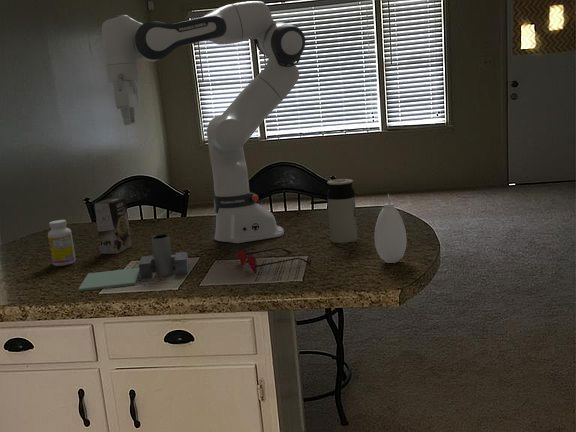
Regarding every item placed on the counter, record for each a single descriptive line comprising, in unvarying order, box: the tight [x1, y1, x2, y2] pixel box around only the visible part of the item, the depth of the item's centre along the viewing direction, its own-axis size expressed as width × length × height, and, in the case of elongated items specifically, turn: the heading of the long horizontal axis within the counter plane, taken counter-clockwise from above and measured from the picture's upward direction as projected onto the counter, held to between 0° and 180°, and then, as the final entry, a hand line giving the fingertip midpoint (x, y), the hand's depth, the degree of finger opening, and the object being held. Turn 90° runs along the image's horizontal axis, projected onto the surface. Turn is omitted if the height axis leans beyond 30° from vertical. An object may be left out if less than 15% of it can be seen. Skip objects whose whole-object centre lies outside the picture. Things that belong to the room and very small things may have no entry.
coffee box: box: [94, 197, 132, 255], centre depth 193 cm, size 9×6×16 cm
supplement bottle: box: [47, 219, 77, 267], centre depth 182 cm, size 7×7×13 cm
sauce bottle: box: [374, 193, 408, 264], centre depth 155 cm, size 8×8×18 cm
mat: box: [77, 267, 140, 292], centre depth 162 cm, size 14×14×1 cm
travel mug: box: [326, 178, 358, 244], centre depth 181 cm, size 8×8×18 cm
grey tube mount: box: [138, 251, 189, 280], centre depth 165 cm, size 12×10×4 cm
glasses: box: [235, 247, 312, 274], centre depth 164 cm, size 14×16×5 cm
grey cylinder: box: [151, 233, 174, 277], centre depth 162 cm, size 4×4×10 cm
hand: (129, 124), depth 177 cm, fingers open, 8 cm apart
